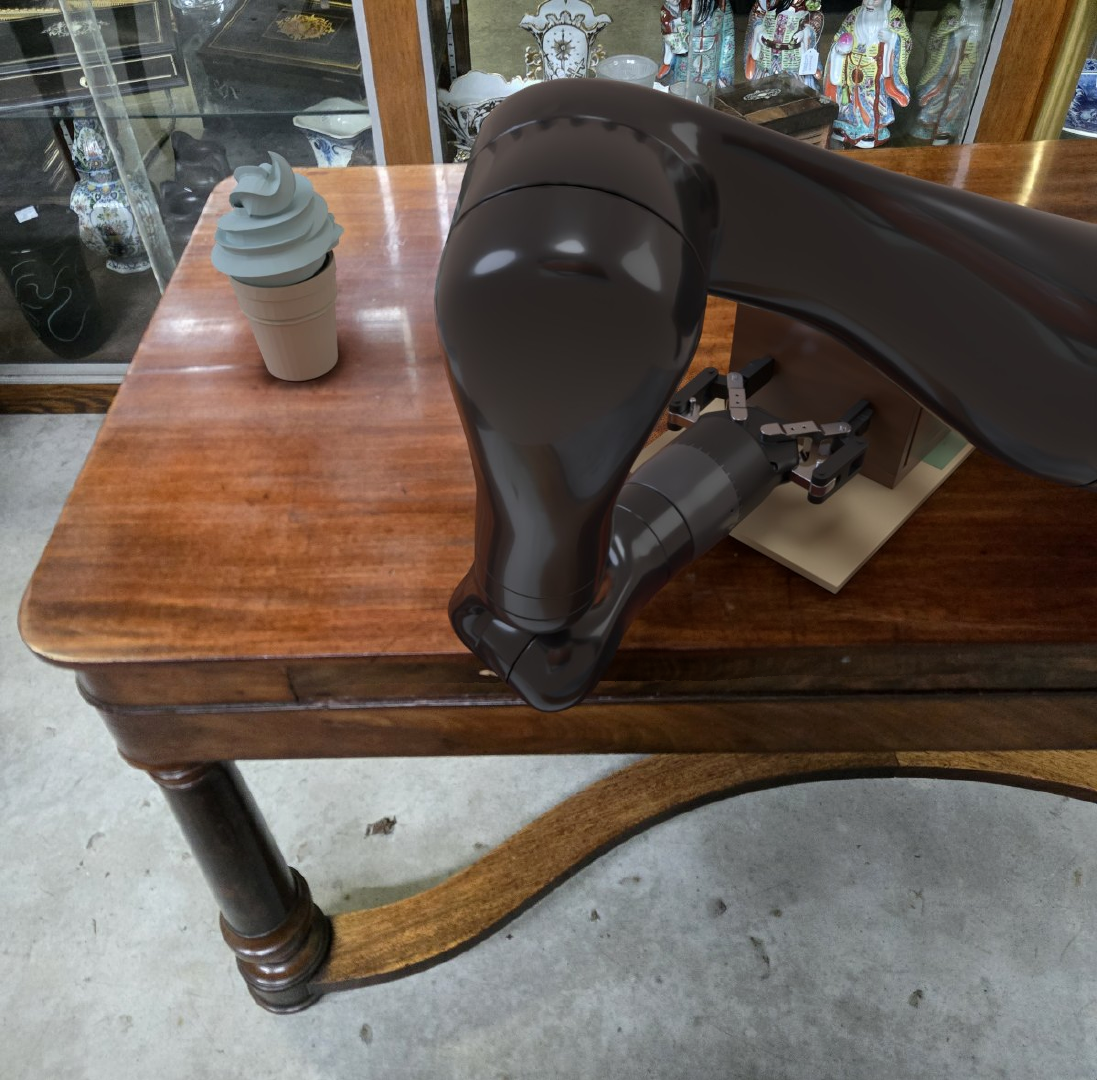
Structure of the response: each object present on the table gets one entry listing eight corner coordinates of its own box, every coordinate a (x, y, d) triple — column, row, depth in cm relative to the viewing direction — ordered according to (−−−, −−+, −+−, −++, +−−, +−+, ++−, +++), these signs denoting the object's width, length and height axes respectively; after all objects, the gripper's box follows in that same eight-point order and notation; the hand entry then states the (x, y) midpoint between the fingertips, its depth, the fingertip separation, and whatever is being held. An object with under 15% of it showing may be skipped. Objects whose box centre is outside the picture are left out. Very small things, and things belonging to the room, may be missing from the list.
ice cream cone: (247, 336, 99) (194, 129, 85) (364, 328, 100) (330, 121, 86) (235, 399, 92) (174, 185, 78) (361, 390, 93) (323, 176, 79)
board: (835, 594, 74) (837, 586, 74) (619, 473, 84) (620, 466, 84) (1009, 414, 89) (1011, 406, 88) (808, 329, 99) (809, 321, 98)
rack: (892, 490, 81) (927, 367, 73) (723, 408, 89) (738, 289, 81) (952, 429, 86) (991, 309, 78) (788, 357, 94) (808, 241, 86)
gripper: (786, 498, 66) (911, 383, 75) (614, 409, 73) (745, 312, 81) (771, 579, 71) (888, 462, 80) (611, 488, 78) (735, 390, 87)
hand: (816, 387), depth 81 cm, fingers open, 8 cm apart
